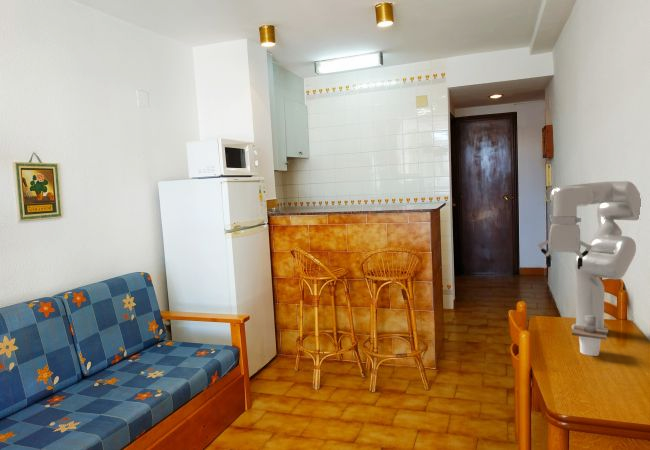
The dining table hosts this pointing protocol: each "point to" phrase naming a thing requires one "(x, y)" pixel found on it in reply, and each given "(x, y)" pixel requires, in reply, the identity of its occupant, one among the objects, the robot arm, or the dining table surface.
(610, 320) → the dining table surface
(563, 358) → the dining table surface
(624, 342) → the dining table surface
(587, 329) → the lid
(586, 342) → the white cup
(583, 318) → the robot arm
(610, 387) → the dining table surface
